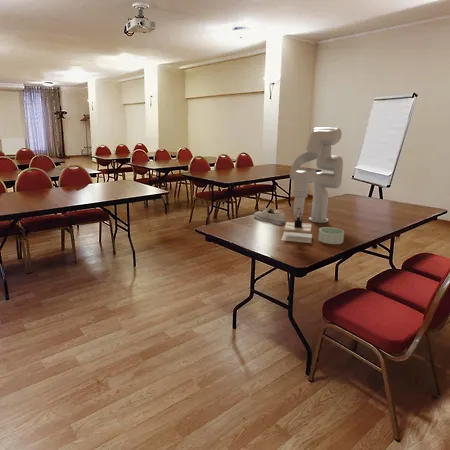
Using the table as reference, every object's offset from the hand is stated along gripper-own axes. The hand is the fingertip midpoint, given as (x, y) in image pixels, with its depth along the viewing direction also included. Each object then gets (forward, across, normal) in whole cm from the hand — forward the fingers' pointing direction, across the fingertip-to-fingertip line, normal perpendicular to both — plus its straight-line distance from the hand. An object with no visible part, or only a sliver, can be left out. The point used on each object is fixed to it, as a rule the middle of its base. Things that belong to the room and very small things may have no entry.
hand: (298, 225), depth 204 cm
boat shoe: (+8, -32, -20) cm, 39 cm away
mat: (+7, +1, 0) cm, 7 cm away
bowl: (+7, +1, +18) cm, 19 cm away
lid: (+1, 0, 0) cm, 1 cm away
